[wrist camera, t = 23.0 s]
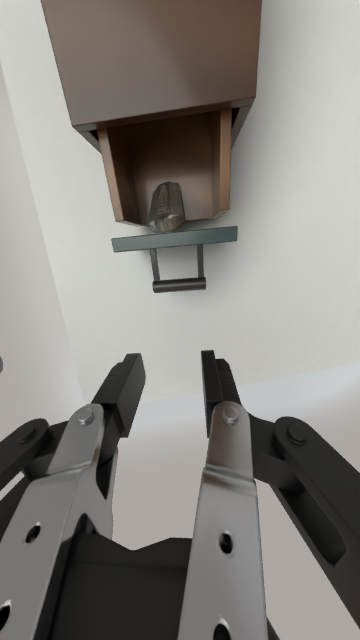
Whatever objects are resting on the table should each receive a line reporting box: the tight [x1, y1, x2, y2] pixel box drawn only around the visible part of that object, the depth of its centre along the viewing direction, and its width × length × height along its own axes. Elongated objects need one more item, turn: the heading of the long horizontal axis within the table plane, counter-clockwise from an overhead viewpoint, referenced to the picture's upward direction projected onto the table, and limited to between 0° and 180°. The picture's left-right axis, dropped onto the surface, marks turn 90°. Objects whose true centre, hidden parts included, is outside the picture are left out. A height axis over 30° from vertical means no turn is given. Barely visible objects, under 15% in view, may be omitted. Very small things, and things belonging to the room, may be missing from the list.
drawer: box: [97, 108, 238, 293], centre depth 18 cm, size 18×11×7 cm, turn 5°
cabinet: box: [41, 0, 262, 154], centre depth 13 cm, size 15×13×9 cm
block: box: [148, 181, 185, 232], centre depth 18 cm, size 4×6×2 cm
